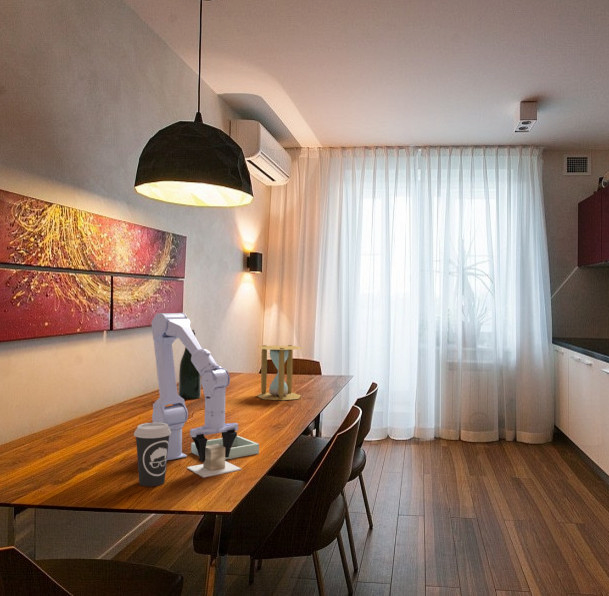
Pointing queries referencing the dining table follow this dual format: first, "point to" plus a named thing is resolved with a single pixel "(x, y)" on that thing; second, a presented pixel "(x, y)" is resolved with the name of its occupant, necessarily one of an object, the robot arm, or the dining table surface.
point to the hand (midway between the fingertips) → (214, 458)
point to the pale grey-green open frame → (243, 447)
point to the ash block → (214, 457)
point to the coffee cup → (152, 452)
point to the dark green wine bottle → (189, 377)
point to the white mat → (206, 473)
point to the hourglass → (278, 385)
